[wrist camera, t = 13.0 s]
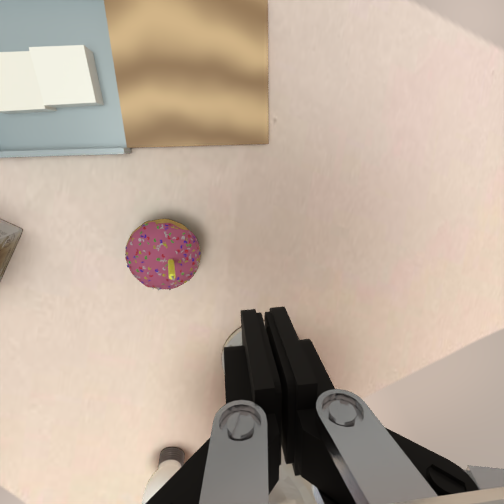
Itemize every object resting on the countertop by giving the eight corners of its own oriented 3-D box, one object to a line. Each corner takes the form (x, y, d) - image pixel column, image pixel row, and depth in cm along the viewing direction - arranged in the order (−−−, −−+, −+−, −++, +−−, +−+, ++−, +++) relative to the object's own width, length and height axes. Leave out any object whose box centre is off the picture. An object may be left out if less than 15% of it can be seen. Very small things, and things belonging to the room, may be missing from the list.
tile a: (103, 105, 33) (95, 102, 31) (55, 107, 33) (44, 105, 30) (92, 52, 31) (83, 45, 29) (42, 54, 31) (28, 47, 29)
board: (266, 143, 37) (268, 143, 35) (130, 147, 35) (126, 147, 34) (264, 3, 32) (267, -3, 31) (108, 0, 31) (102, -7, 29)
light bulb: (198, 446, 52) (194, 520, 42) (181, 472, 54) (173, 550, 44) (161, 435, 50) (148, 510, 40) (144, 463, 52) (127, 541, 42)
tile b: (56, 111, 33) (45, 108, 31) (7, 113, 32) (-8, 111, 30) (42, 57, 31) (29, 50, 29) (-10, 59, 31) (-27, 53, 28)
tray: (131, 152, 35) (124, 153, 33) (-4, 157, 34) (-23, 158, 31) (106, -7, 30) (96, -22, 28) (-54, -11, 29) (-82, -27, 26)
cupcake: (195, 207, 38) (188, 233, 27) (207, 268, 41) (205, 314, 30) (127, 217, 38) (90, 248, 27) (144, 278, 41) (117, 329, 30)
